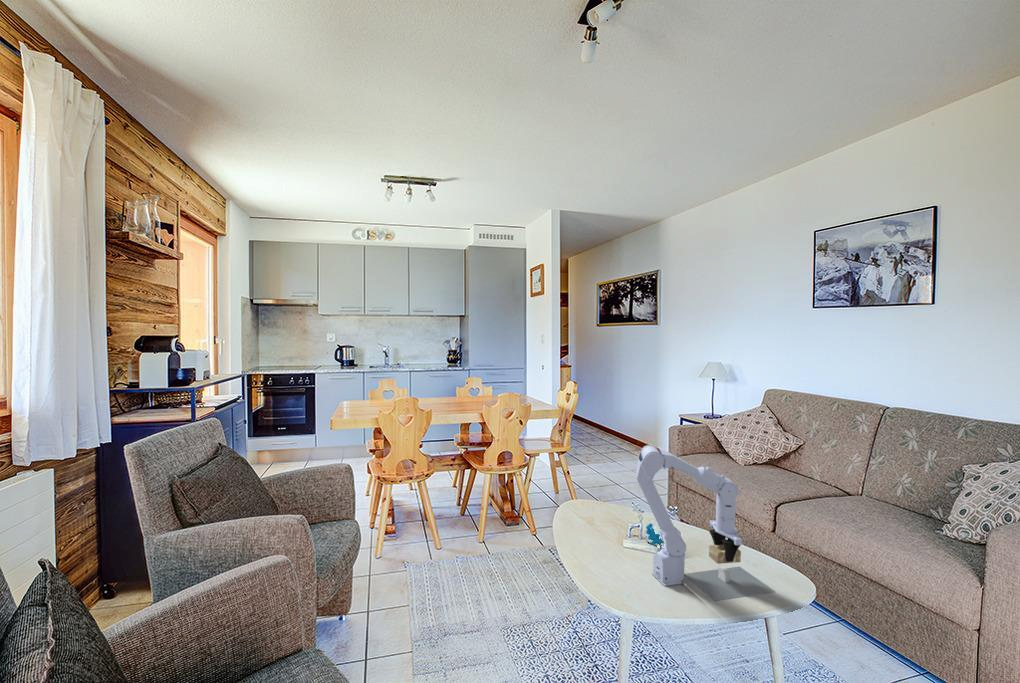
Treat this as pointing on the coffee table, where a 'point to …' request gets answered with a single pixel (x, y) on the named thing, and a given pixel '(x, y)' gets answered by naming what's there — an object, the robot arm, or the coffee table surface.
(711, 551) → the open rectangular tan frame
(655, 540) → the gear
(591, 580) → the coffee table surface
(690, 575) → the board
